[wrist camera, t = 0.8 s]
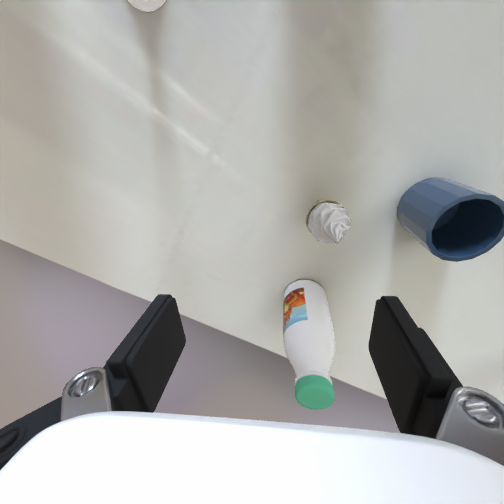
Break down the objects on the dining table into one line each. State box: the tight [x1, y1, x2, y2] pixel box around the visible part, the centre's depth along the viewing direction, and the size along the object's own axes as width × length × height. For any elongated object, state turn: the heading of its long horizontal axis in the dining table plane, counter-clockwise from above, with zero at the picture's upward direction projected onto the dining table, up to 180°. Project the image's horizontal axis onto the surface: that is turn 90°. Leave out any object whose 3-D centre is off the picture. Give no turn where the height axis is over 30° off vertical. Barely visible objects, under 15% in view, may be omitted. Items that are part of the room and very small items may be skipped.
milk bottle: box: [283, 280, 336, 409], centre depth 38 cm, size 8×8×20 cm
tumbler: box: [397, 178, 504, 262], centre depth 33 cm, size 8×8×9 cm
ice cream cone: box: [306, 200, 351, 243], centre depth 32 cm, size 5×5×15 cm
